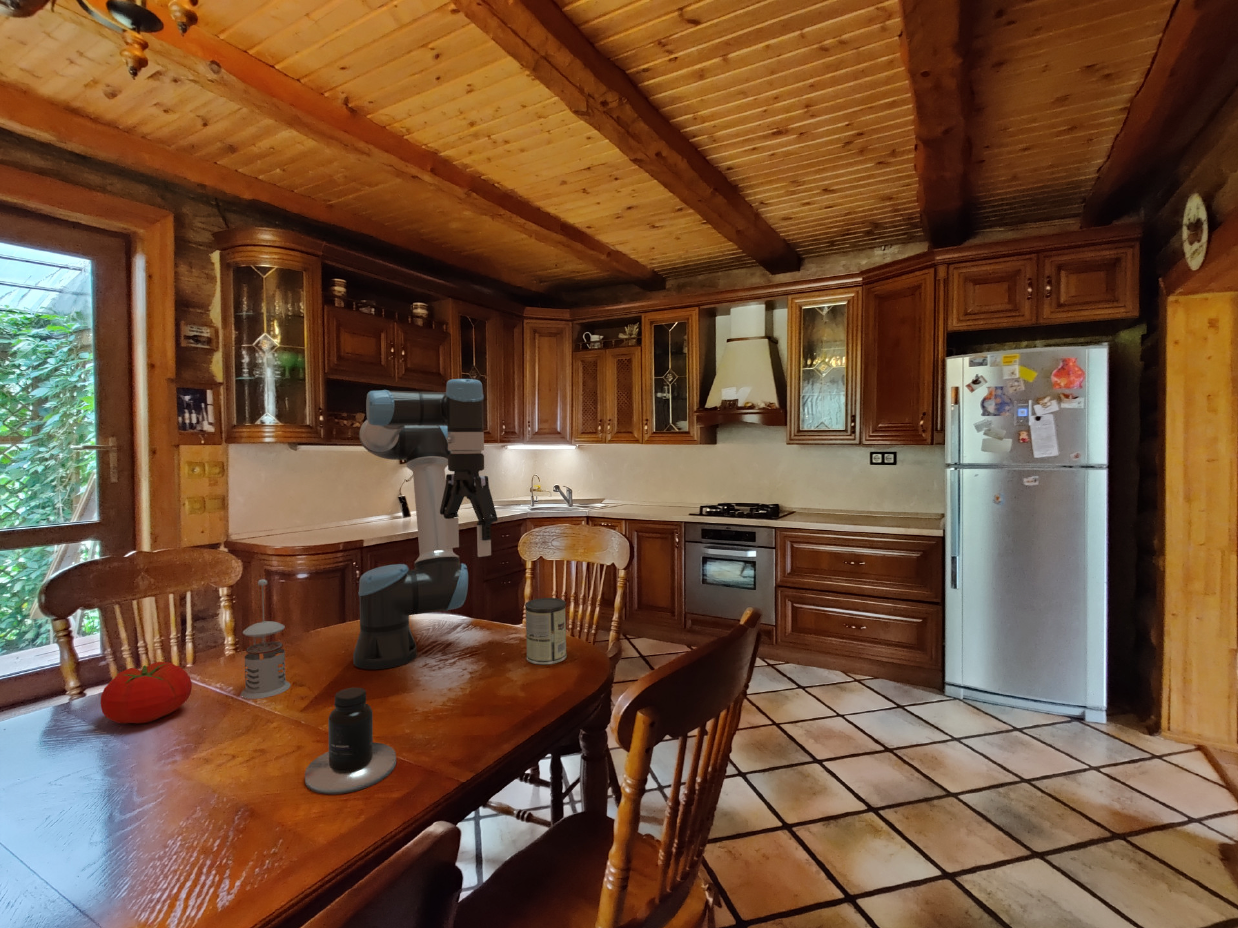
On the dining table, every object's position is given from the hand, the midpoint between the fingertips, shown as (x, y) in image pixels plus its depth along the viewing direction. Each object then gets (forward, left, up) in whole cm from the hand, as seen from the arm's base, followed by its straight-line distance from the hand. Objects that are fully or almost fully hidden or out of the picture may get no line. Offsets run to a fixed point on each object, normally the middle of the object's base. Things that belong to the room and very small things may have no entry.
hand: (467, 551), depth 129 cm
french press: (-37, -31, -32) cm, 58 cm away
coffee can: (-8, +26, -32) cm, 42 cm away
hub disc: (+12, -29, -32) cm, 45 cm away
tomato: (-38, -52, -32) cm, 72 cm away
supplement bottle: (+12, -29, -31) cm, 44 cm away
